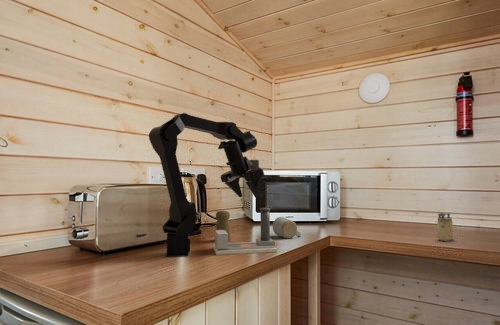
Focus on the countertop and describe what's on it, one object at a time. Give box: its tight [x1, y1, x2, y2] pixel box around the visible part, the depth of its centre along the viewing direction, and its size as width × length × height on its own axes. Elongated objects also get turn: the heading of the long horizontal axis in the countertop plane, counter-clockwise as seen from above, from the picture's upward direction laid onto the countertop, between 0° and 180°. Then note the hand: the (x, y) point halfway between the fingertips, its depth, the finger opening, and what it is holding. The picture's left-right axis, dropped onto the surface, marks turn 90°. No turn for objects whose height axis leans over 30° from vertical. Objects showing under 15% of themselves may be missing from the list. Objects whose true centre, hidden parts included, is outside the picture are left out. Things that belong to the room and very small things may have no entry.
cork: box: [215, 210, 232, 243], centre depth 123 cm, size 6×6×11 cm
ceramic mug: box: [272, 216, 303, 239], centre depth 131 cm, size 11×8×8 cm
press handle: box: [255, 207, 276, 247], centre depth 109 cm, size 5×6×12 cm
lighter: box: [436, 212, 454, 242], centre depth 124 cm, size 7×4×10 cm, turn 124°
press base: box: [212, 229, 278, 256], centre depth 107 cm, size 19×10×6 cm, turn 101°
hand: (248, 197), depth 121 cm, fingers open, 9 cm apart
